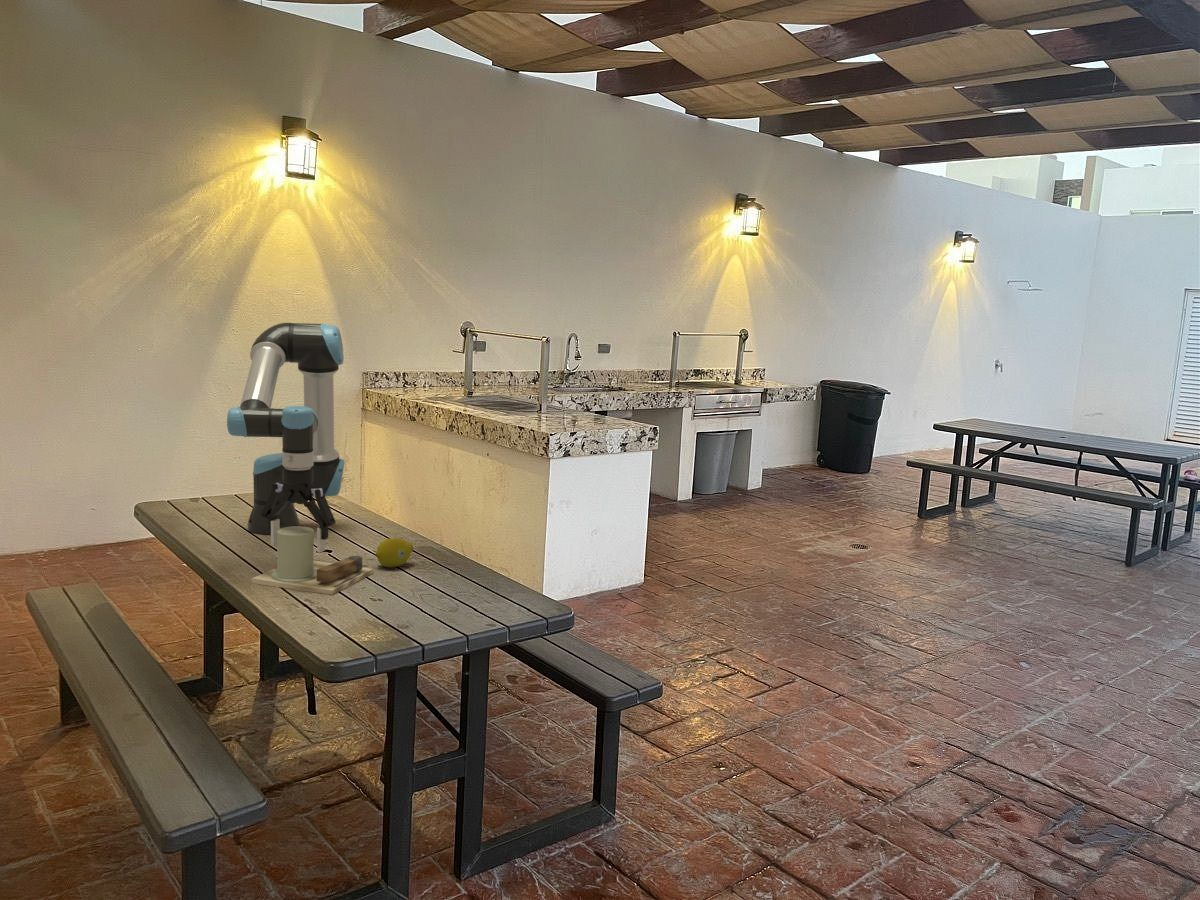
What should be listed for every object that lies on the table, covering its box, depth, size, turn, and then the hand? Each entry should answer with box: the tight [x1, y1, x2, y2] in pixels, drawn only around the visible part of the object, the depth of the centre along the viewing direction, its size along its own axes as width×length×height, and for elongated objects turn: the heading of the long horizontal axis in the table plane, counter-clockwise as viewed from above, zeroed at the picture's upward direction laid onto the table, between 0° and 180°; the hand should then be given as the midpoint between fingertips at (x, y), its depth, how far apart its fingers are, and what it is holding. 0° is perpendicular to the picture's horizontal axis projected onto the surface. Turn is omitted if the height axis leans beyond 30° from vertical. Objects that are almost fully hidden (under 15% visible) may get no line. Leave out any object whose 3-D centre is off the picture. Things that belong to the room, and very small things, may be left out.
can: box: [276, 525, 315, 579], centre depth 236 cm, size 9×9×12 cm
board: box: [251, 560, 374, 596], centre depth 239 cm, size 20×23×2 cm
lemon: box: [374, 537, 414, 569], centre depth 252 cm, size 11×8×8 cm
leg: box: [317, 555, 363, 583], centre depth 237 cm, size 15×4×3 cm, turn 158°
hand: (298, 547), depth 237 cm, fingers open, 13 cm apart
